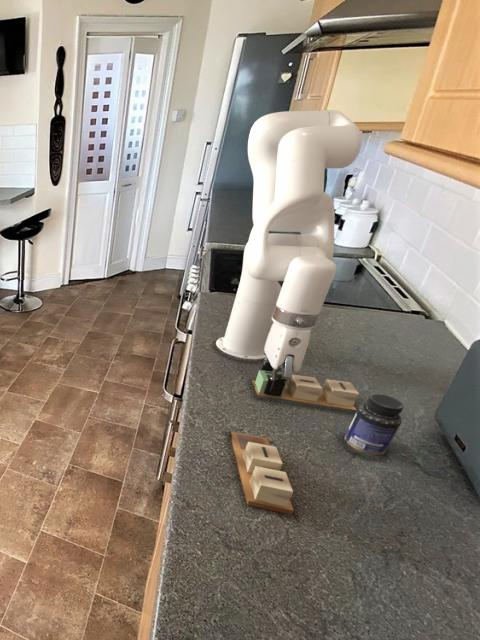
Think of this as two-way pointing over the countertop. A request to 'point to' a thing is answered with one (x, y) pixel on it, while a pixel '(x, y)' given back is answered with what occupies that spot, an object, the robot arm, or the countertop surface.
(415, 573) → the countertop surface
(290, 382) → the word
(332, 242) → the robot arm
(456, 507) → the countertop surface
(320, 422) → the countertop surface
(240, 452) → the word
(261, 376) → the green number cube
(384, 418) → the pill bottle
